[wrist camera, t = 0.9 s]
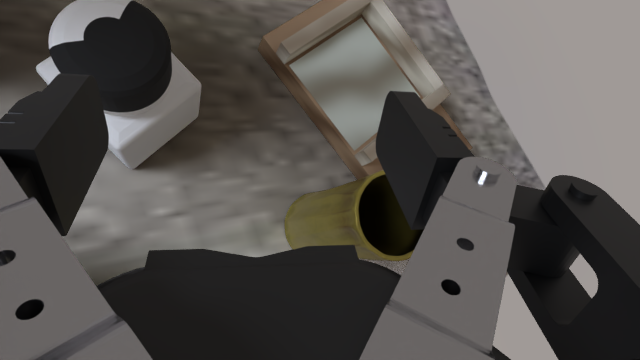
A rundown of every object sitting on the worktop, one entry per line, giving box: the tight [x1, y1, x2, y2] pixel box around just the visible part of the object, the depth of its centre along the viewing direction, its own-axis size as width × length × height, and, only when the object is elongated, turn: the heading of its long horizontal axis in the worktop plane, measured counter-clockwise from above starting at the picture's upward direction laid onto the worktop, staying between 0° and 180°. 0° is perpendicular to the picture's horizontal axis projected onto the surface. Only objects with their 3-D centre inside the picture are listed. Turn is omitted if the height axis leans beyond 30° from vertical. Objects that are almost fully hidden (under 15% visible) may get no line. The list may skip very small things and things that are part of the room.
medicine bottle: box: [36, 0, 201, 169], centre depth 27 cm, size 7×7×12 cm
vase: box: [285, 170, 424, 261], centre depth 29 cm, size 6×6×14 cm
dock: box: [258, 0, 472, 180], centre depth 37 cm, size 20×11×4 cm, turn 40°
